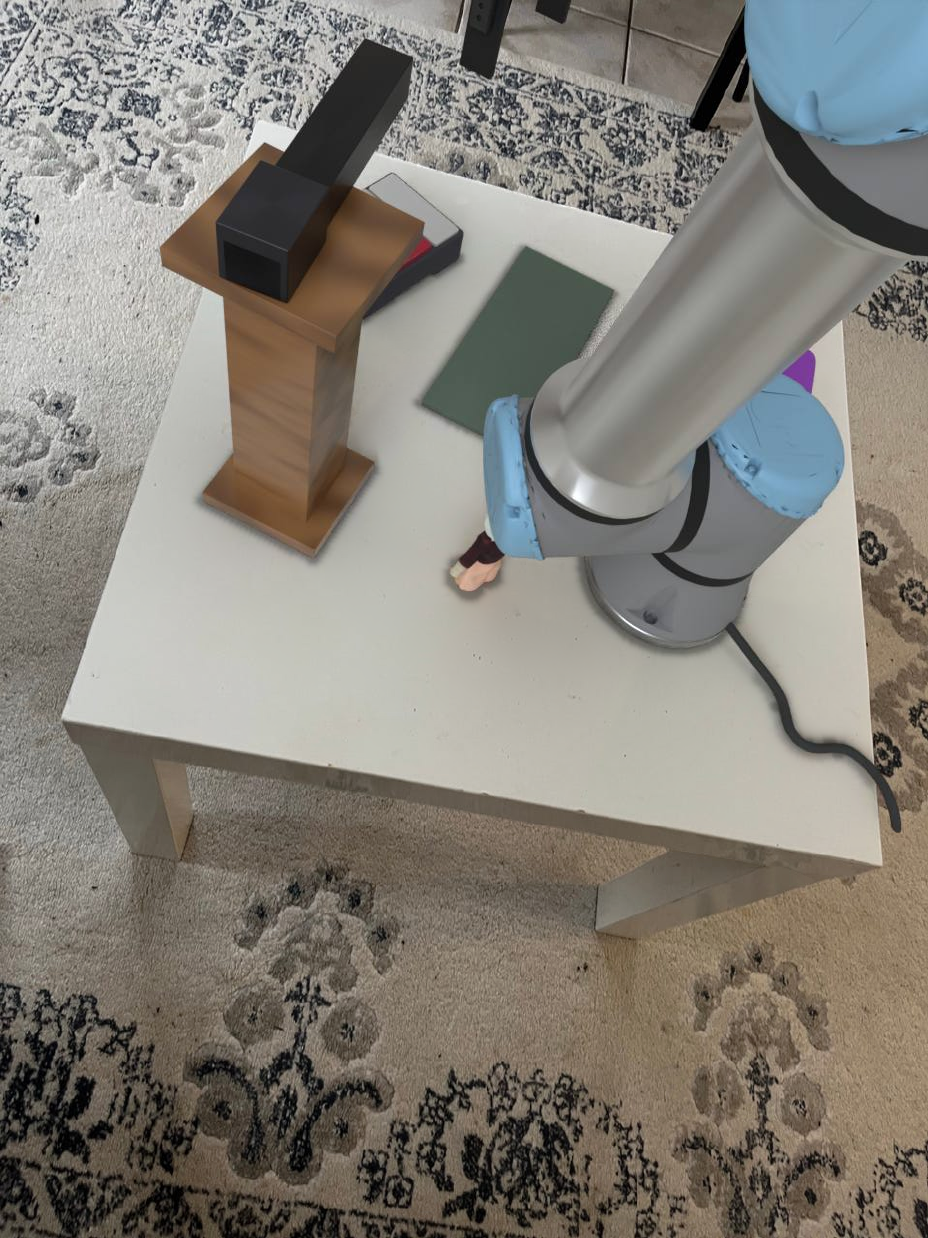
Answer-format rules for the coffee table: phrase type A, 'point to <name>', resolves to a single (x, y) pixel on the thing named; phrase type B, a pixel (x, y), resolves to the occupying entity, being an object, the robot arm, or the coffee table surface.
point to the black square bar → (311, 176)
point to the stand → (295, 363)
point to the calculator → (434, 247)
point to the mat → (519, 338)
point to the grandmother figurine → (478, 561)
